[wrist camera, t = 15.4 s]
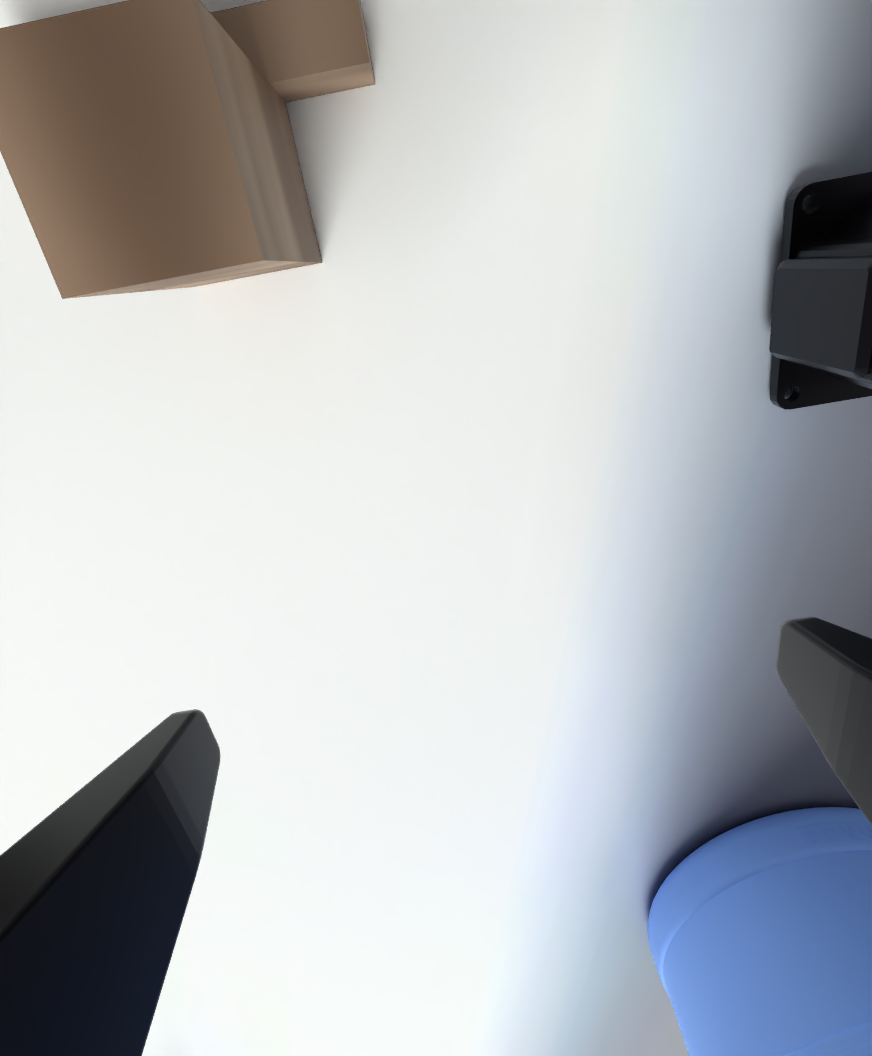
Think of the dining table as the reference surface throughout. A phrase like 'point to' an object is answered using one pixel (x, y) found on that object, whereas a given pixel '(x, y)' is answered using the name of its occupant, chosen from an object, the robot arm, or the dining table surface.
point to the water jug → (771, 937)
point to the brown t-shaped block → (170, 136)
